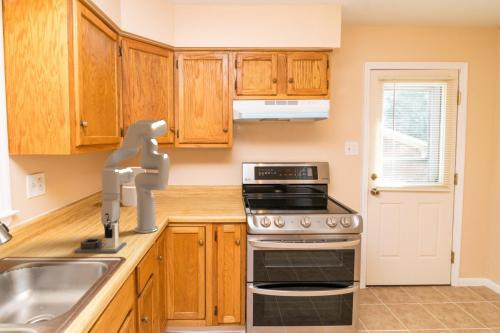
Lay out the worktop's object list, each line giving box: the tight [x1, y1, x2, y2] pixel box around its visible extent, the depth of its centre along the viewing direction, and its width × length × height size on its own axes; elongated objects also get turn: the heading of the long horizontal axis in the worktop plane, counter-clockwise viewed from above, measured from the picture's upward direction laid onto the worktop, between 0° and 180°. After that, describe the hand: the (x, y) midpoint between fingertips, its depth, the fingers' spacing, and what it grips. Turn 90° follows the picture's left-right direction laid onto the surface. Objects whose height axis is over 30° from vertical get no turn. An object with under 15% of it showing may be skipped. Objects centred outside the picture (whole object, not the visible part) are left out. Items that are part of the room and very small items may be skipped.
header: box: [74, 238, 127, 254], centre depth 149 cm, size 12×18×4 cm, turn 91°
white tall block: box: [121, 166, 147, 207], centre depth 252 cm, size 17×17×28 cm
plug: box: [105, 223, 119, 247], centre depth 149 cm, size 4×4×10 cm
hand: (112, 235), depth 148 cm, fingers open, 6 cm apart
